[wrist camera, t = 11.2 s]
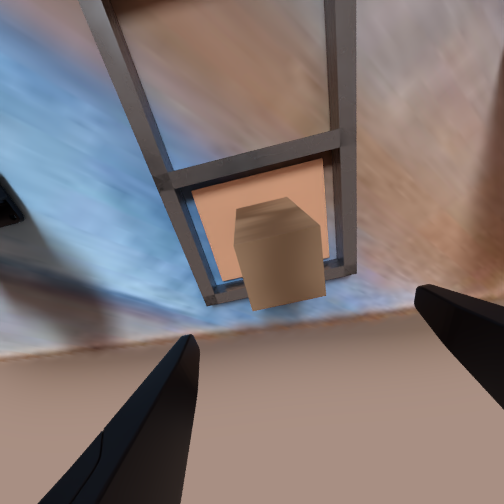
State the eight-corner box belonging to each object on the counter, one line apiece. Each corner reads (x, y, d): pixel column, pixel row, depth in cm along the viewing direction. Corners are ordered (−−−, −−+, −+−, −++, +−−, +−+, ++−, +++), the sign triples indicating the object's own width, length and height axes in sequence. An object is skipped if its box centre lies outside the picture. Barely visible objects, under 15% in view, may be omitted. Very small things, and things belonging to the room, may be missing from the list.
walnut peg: (248, 253, 19) (252, 311, 12) (236, 208, 18) (233, 245, 10) (293, 243, 19) (326, 295, 12) (287, 196, 17) (320, 225, 10)
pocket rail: (208, 297, 22) (206, 306, 20) (74, -36, 11) (52, -62, 10) (349, 265, 21) (356, 273, 20) (340, -121, 11) (355, -162, 9)
